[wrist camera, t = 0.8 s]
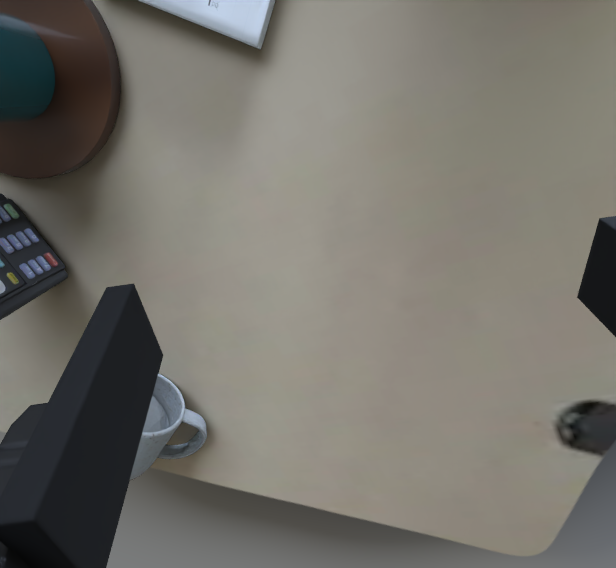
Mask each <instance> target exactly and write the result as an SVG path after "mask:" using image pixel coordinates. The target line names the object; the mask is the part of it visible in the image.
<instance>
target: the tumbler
mask: <svg viewBox="0 0 616 568" xmlns="http://www.w3.org/2000/svg"><path fill="white" fill-rule="evenodd" d="M54 89H55V71H54V66H53V62H52V59H51V56H50V54H49V51H48V49H47V47H46V46H45V44H44V42H43V41H42V39H41V38H40V36H39V35H38V34H37V33H36V32H35V31H34V30H33V29H32V28H31V27H30V26H29V25H28V24H27V23H25V22H24V21H23V20H21V19H19V18H17V17H15V16H13V15H11V14H7V13H4V12H0V123H9V122H25V121H29V120H32V119H35V118H36V117H38V116H39V115H41V114H42V113H43V112H44V111H45V110H46V109H47V107H48V106H49V104H50V102H51V100H52V97H53V94H54Z"/></svg>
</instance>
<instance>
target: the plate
mask: <svg viewBox="0 0 616 568" xmlns="http://www.w3.org/2000/svg"><path fill="white" fill-rule="evenodd" d="M0 12H4V13H7V14H11V15H13V16H15V17H17V18H19V19H21V20H23V21H24V22H25V23H27V24H28V25H29V26H30V27H31V28H32V29H33V30H34V31H35V32H36V33H37V34H38V35H39V36H40V38H41V39H42V41H43V42H44V44H45V46H46V47H47V49H48V51H49V54H50V56H51V59H52V62H53V66H54V71H55V89H54V94H53V97H52V100H51V102H50V104H49V106H48V107H47V109H46V110H45V111H44V112H43V113H42V114H41V115H39V116H38V117H36V118H35V119H32V120H29V121H25V122H9V123H0V172H1V173H3V174H7V175H11V176H14V177H21V178H46V177H52V176H57V175H61V174H65V173H68V172H71V171H73V170H75V169H77V168H79V167H81V166H83V165H84V164H86V163H87V162H88V161H90V160H91V159H92V158H93V157H94V156H95V155H96V154H97V153H98V152H99V151H100V150H101V148H102V147H103V146H104V144H105V143H106V142H107V140H108V138H109V136H110V134H111V132H112V130H113V127H114V124H115V122H116V119H117V114H118V110H119V104H120V93H121V86H120V72H119V65H118V59H117V55H116V51H115V48H114V44H113V42H112V39H111V36H110V34H109V31H108V29H107V27H106V25H105V23H104V21H103V19H102V17H101V15H100V13H99V12H98V10H97V8H96V7H95V5H94V4H93V2H92V1H91V0H0Z"/></svg>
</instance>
